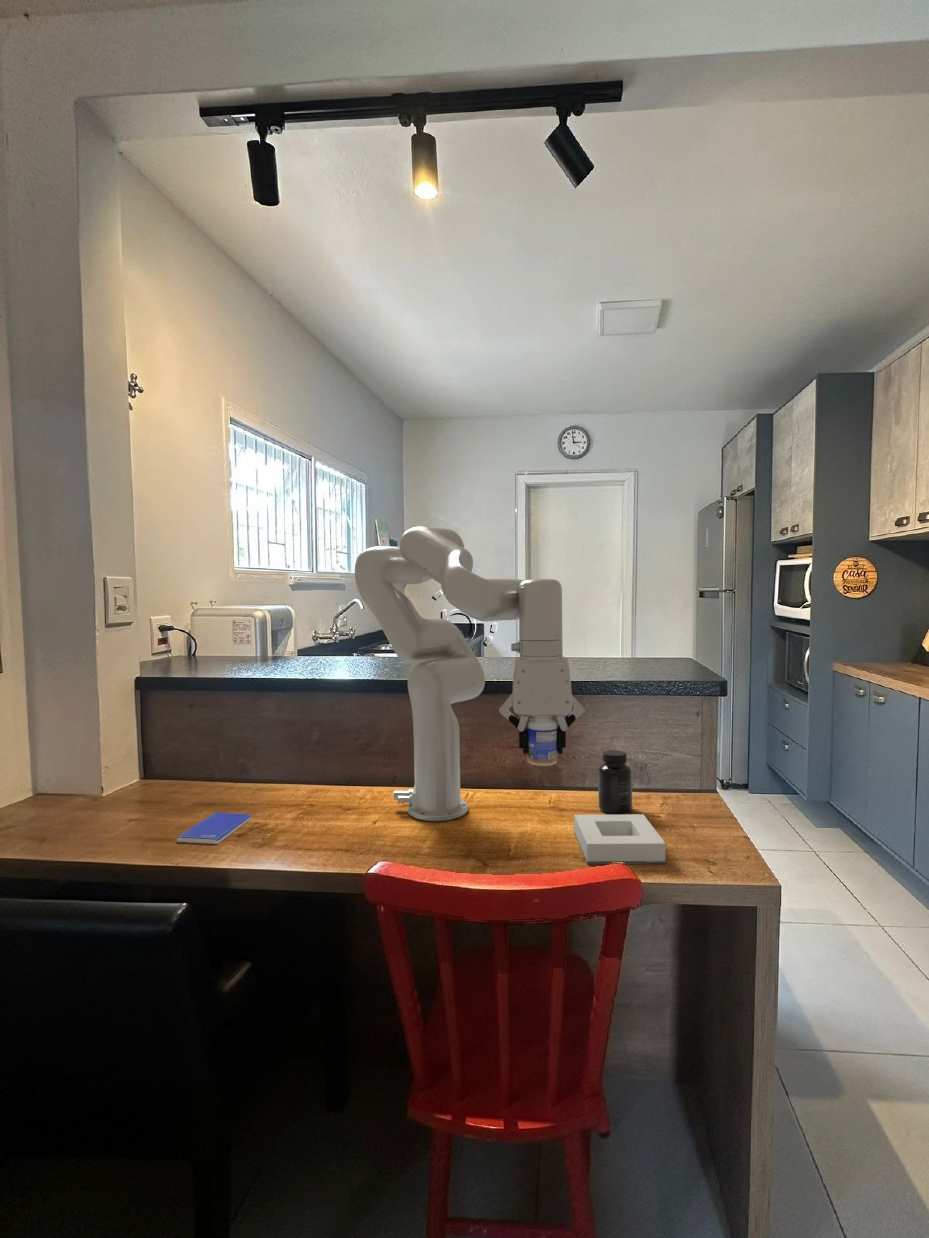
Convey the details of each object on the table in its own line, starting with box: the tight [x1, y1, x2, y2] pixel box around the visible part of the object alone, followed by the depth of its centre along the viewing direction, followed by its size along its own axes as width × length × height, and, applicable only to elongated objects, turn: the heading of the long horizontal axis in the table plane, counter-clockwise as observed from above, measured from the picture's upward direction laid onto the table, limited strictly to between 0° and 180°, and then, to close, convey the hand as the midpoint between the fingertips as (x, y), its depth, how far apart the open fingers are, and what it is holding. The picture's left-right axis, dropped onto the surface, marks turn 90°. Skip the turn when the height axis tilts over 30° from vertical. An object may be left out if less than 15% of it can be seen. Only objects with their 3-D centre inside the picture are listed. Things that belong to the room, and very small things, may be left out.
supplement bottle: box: [597, 749, 633, 815], centre depth 126 cm, size 7×7×12 cm
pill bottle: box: [526, 716, 558, 767], centre depth 106 cm, size 5×5×10 cm
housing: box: [573, 813, 666, 865], centre depth 107 cm, size 13×13×4 cm
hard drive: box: [176, 812, 252, 845], centre depth 118 cm, size 2×8×12 cm
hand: (542, 750), depth 107 cm, fingers closed on pill bottle, 5 cm apart
